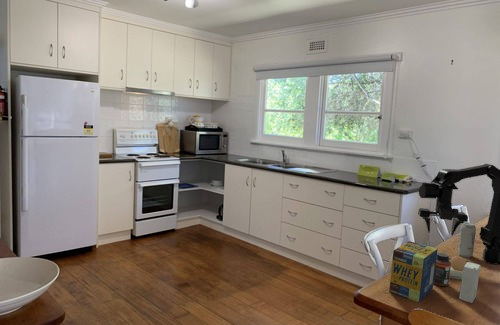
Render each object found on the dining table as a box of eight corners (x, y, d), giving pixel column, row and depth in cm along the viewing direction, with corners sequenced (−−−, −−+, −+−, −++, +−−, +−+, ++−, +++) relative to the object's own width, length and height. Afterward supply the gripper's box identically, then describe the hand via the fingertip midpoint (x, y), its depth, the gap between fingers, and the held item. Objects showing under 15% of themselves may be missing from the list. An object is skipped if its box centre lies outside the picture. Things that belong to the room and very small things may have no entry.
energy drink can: (469, 258, 171) (473, 226, 169) (455, 254, 175) (459, 223, 174) (474, 256, 175) (478, 224, 173) (460, 252, 179) (464, 221, 177)
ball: (463, 268, 156) (465, 254, 155) (467, 274, 150) (469, 260, 149) (447, 266, 157) (448, 252, 156) (451, 272, 151) (452, 258, 151)
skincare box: (462, 293, 136) (466, 261, 134) (476, 297, 133) (481, 264, 132) (458, 299, 131) (462, 265, 130) (473, 304, 128) (477, 269, 127)
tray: (469, 270, 158) (470, 263, 157) (478, 282, 146) (479, 274, 146) (438, 265, 161) (438, 259, 161) (444, 277, 149) (445, 269, 149)
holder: (470, 261, 168) (470, 260, 167) (476, 270, 158) (477, 268, 158) (445, 258, 170) (445, 257, 170) (450, 266, 161) (450, 265, 161)
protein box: (388, 292, 134) (392, 249, 132) (404, 279, 146) (409, 240, 144) (418, 303, 127) (423, 258, 125) (433, 288, 139) (438, 248, 137)
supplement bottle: (450, 287, 140) (454, 258, 139) (433, 285, 141) (436, 256, 140) (445, 281, 146) (449, 252, 144) (429, 279, 147) (432, 250, 146)
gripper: (424, 200, 159) (420, 236, 161) (473, 205, 154) (469, 242, 156) (419, 195, 169) (416, 229, 171) (466, 199, 164) (462, 234, 166)
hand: (440, 233), depth 166 cm, fingers open, 9 cm apart
